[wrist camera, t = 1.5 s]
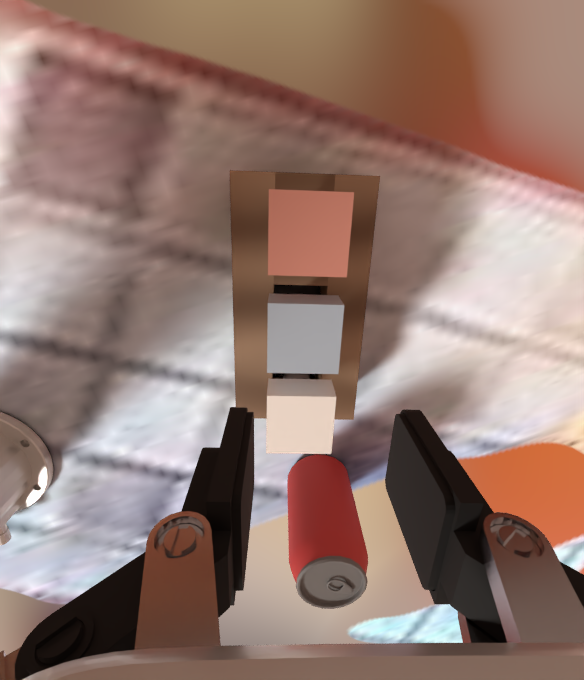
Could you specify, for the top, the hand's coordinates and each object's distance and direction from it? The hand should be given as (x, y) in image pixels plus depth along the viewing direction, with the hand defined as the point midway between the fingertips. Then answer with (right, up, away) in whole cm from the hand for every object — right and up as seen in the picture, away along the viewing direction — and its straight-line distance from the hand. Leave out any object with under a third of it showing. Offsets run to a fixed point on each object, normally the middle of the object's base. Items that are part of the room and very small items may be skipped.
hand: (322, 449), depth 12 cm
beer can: (+2, -11, +27) cm, 30 cm away
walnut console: (-1, +8, +20) cm, 21 cm away
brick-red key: (0, +12, +14) cm, 19 cm away
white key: (-1, +1, +19) cm, 19 cm away
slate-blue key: (0, +6, +16) cm, 18 cm away
